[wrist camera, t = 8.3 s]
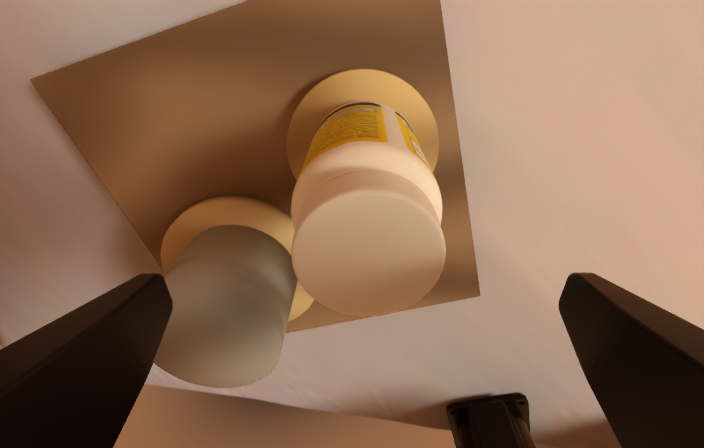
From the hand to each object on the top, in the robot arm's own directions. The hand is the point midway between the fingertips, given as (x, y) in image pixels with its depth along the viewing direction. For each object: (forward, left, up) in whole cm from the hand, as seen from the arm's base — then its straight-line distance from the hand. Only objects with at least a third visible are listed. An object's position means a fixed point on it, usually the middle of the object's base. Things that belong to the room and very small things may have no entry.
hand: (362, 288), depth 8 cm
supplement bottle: (0, 0, -10) cm, 10 cm away
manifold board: (-2, +4, -12) cm, 13 cm away
